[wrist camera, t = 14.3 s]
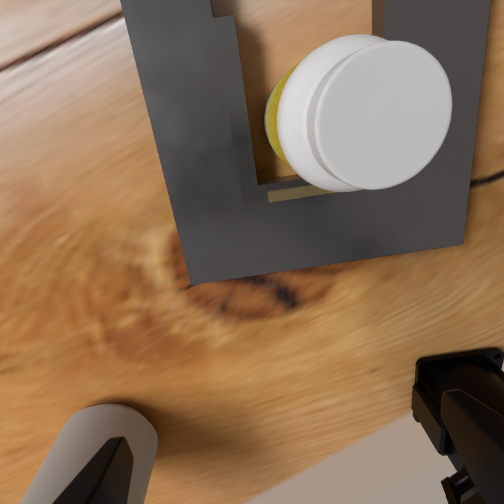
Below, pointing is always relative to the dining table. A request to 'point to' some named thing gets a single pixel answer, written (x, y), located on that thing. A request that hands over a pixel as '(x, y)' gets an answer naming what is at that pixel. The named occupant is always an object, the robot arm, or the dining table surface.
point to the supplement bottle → (360, 113)
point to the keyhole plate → (294, 187)
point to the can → (95, 451)
